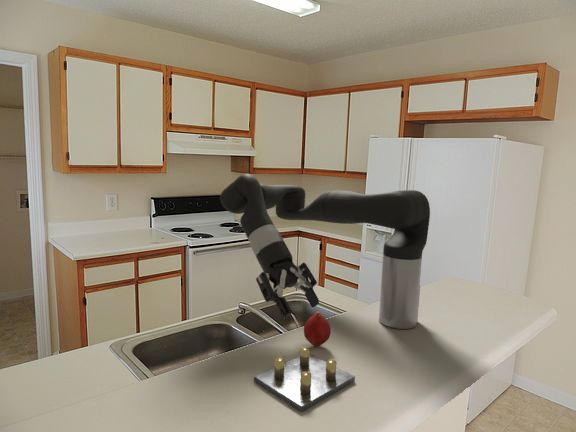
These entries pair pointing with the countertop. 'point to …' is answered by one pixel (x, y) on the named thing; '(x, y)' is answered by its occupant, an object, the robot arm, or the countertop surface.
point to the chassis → (304, 379)
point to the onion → (317, 330)
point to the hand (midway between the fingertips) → (302, 310)
